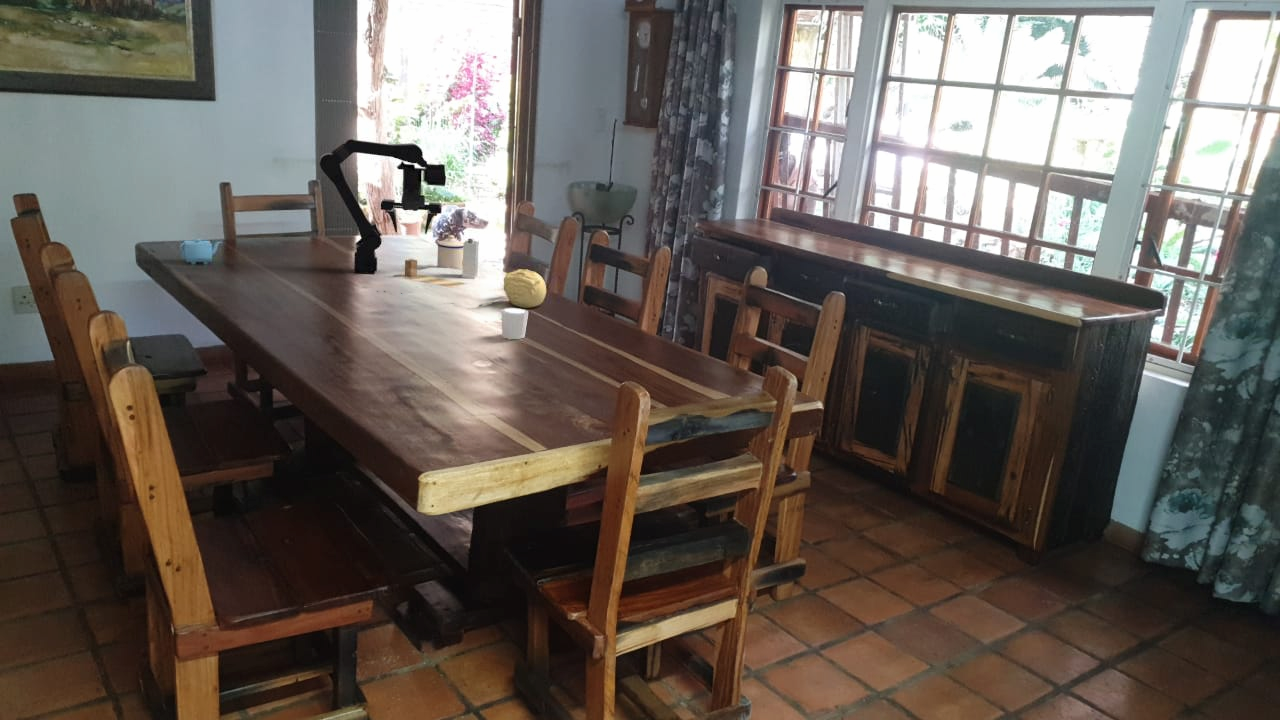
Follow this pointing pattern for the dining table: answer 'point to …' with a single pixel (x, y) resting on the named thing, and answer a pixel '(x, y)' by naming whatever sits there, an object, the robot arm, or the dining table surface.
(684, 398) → the dining table surface
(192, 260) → the teapot
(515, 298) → the yellow lumpy ball
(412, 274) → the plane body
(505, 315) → the shot glass
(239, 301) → the dining table surface
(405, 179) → the robot arm
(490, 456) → the dining table surface
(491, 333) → the dining table surface
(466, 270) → the tall grey block
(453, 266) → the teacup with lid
